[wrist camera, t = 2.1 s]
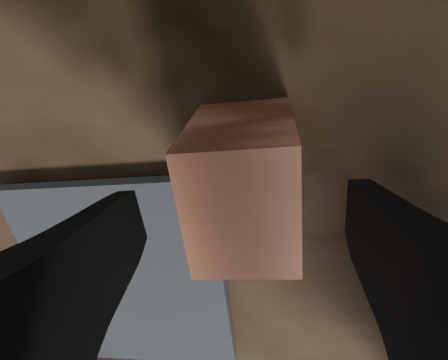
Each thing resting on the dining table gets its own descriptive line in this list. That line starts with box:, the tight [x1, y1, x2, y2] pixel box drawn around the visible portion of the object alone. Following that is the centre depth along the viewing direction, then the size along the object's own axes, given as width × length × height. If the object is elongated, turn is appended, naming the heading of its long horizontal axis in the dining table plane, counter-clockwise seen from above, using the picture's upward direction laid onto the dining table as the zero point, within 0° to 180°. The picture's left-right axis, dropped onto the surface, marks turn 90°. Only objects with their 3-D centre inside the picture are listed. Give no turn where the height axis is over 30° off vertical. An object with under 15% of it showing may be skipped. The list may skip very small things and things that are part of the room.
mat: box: [0, 175, 236, 360], centre depth 20 cm, size 12×14×1 cm
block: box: [165, 97, 303, 280], centre depth 13 cm, size 4×5×6 cm
